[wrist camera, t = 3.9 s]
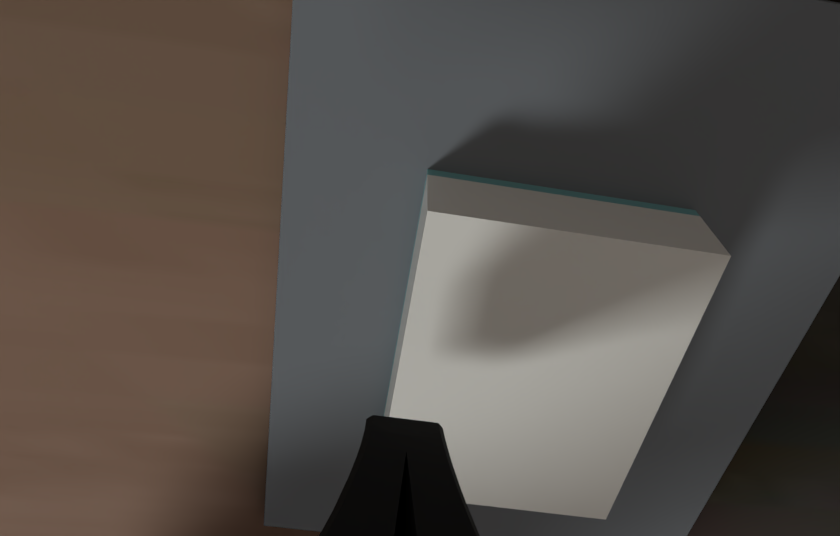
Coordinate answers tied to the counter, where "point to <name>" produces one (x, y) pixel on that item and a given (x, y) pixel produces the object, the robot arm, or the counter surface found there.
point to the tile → (546, 334)
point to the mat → (561, 169)
